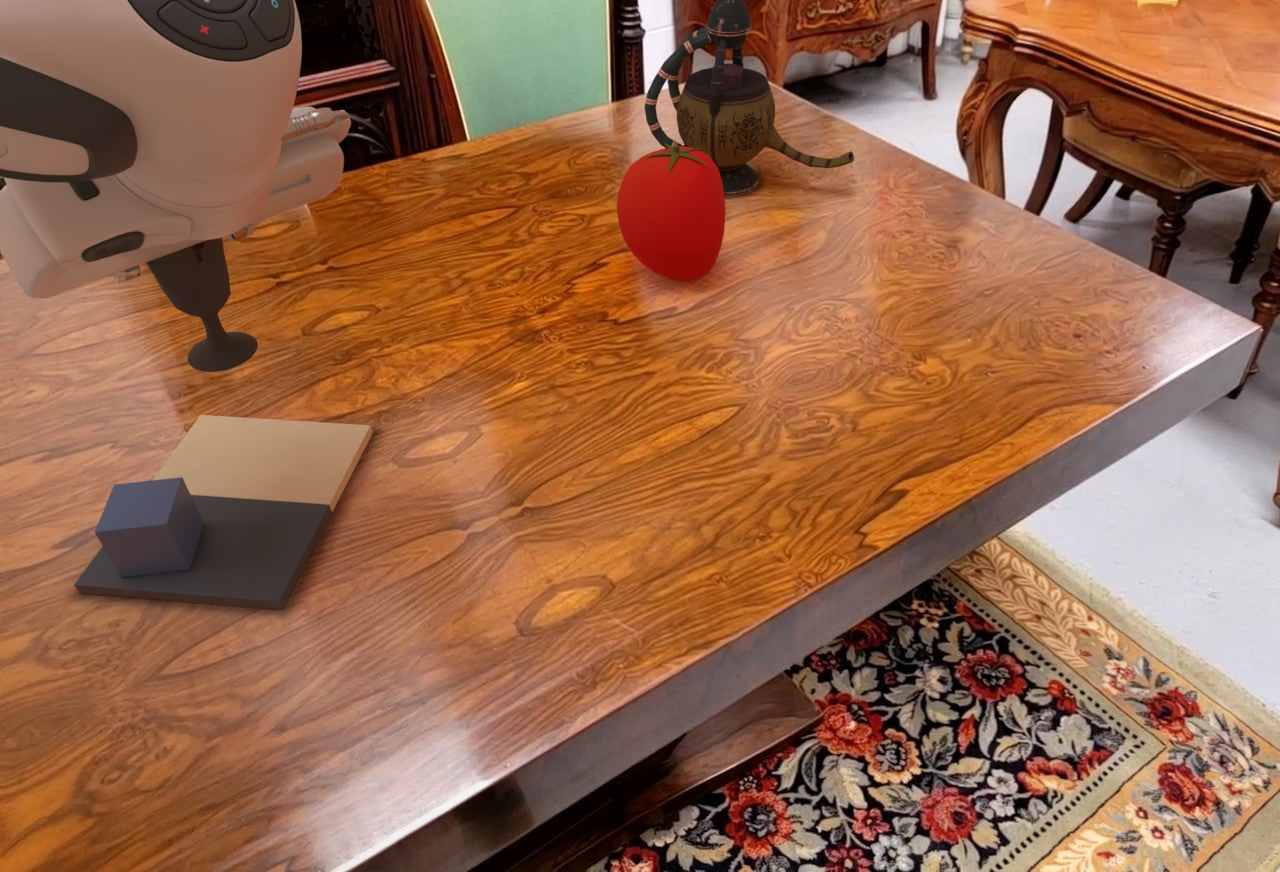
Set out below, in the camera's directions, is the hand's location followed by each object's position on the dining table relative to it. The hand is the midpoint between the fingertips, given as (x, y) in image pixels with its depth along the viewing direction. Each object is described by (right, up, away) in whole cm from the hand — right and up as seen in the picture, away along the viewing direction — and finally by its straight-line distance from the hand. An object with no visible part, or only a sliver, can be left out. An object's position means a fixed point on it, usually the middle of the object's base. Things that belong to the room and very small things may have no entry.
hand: (180, 249), depth 64 cm
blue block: (-5, -22, +8) cm, 24 cm away
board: (-1, -19, +13) cm, 23 cm away
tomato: (+35, +5, +40) cm, 53 cm away
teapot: (+46, +19, +55) cm, 74 cm away
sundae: (+1, -7, +5) cm, 9 cm away
